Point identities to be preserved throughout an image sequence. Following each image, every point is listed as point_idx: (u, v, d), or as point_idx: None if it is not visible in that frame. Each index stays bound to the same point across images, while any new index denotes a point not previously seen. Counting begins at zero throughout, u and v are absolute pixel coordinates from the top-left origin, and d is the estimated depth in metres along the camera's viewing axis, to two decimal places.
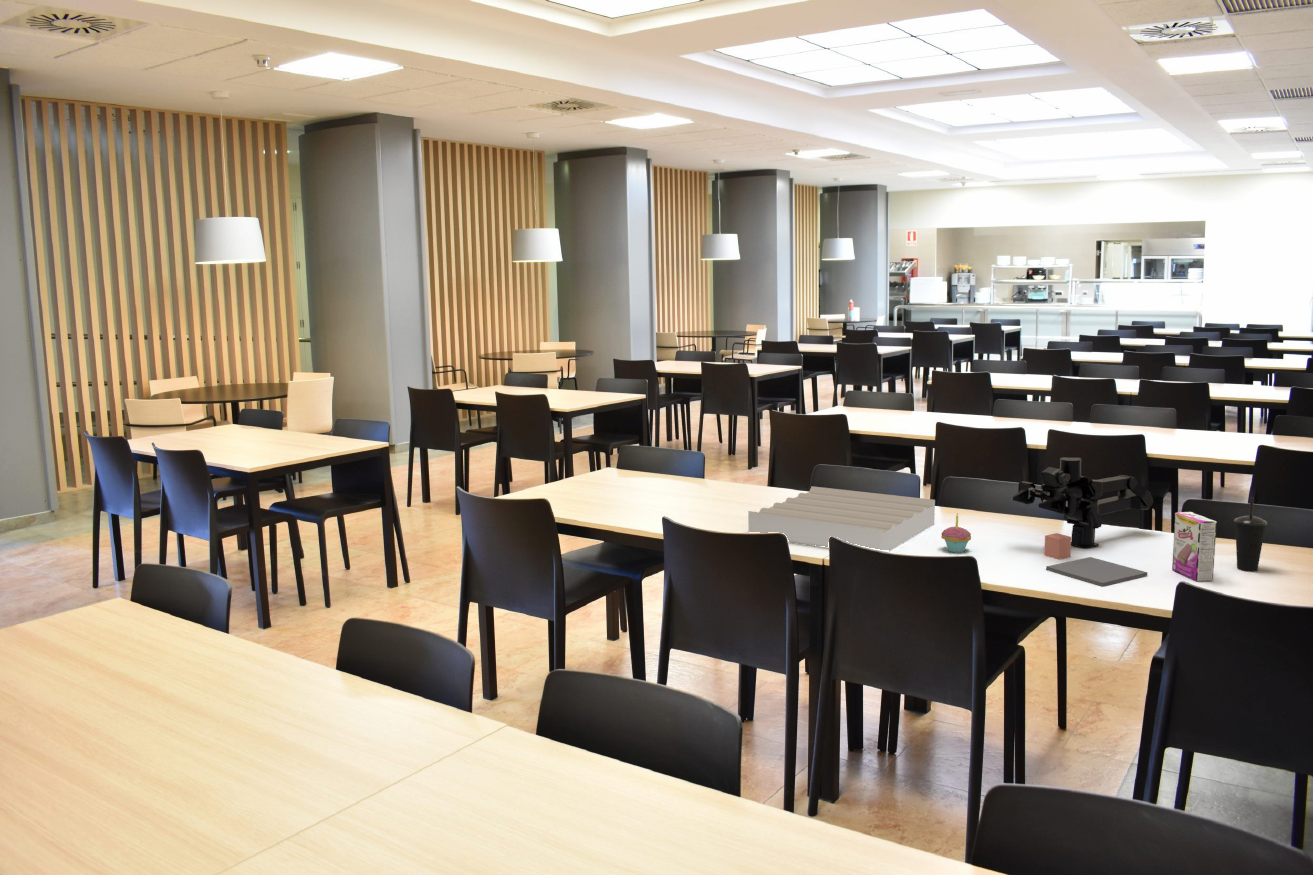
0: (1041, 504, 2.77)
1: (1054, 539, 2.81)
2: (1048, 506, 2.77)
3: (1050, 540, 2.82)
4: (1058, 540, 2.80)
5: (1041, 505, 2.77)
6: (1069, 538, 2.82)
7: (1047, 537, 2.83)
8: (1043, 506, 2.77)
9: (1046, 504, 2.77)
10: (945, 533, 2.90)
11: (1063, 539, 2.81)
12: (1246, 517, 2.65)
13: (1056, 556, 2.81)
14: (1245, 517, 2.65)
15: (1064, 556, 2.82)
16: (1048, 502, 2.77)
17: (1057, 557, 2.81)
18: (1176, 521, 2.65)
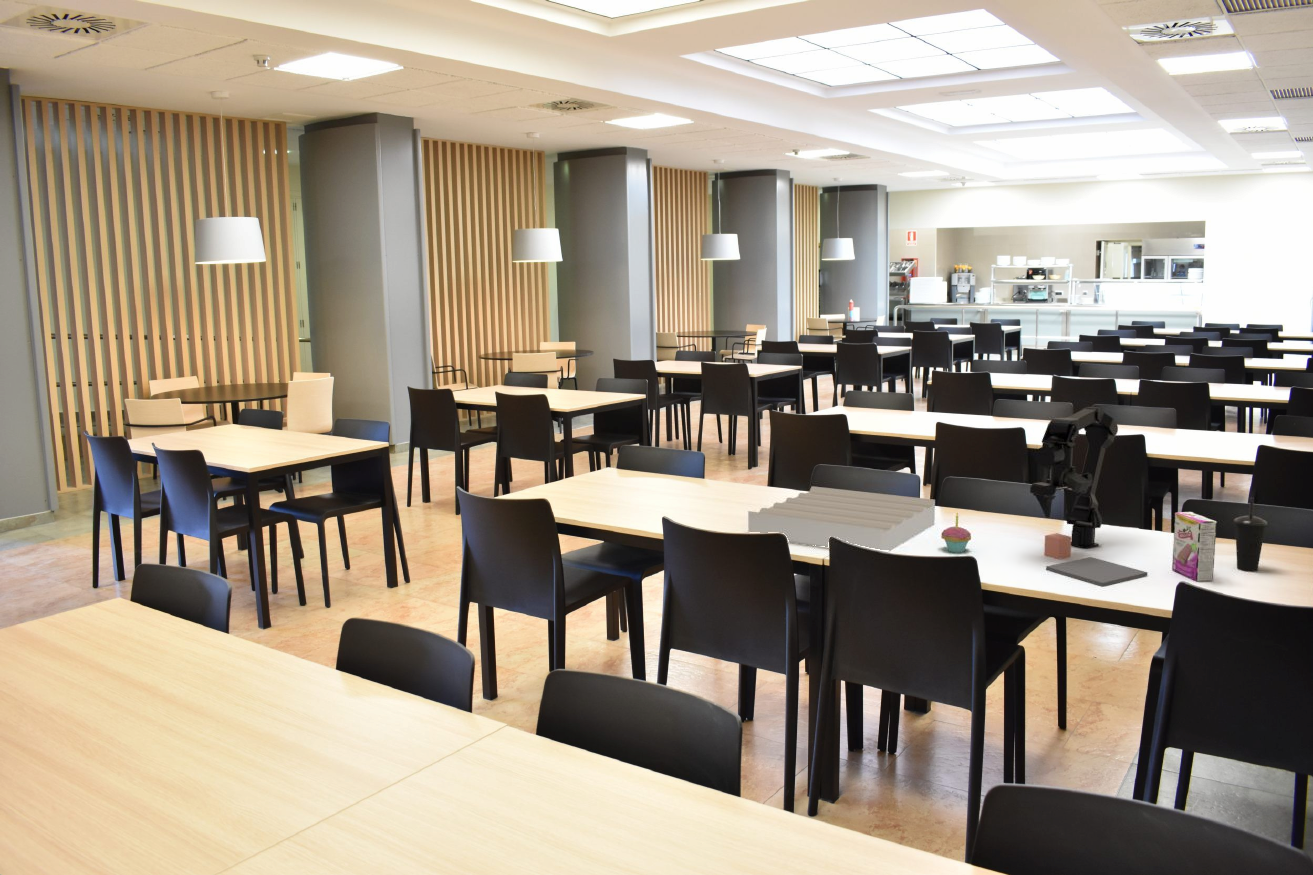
0: None
1: (1054, 539, 2.81)
2: None
3: (1050, 540, 2.82)
4: (1058, 540, 2.80)
5: None
6: (1069, 538, 2.82)
7: (1047, 537, 2.83)
8: None
9: None
10: (945, 533, 2.90)
11: (1063, 539, 2.81)
12: (1246, 517, 2.65)
13: (1056, 556, 2.81)
14: (1245, 517, 2.65)
15: (1064, 556, 2.82)
16: None
17: (1057, 557, 2.81)
18: (1176, 521, 2.65)
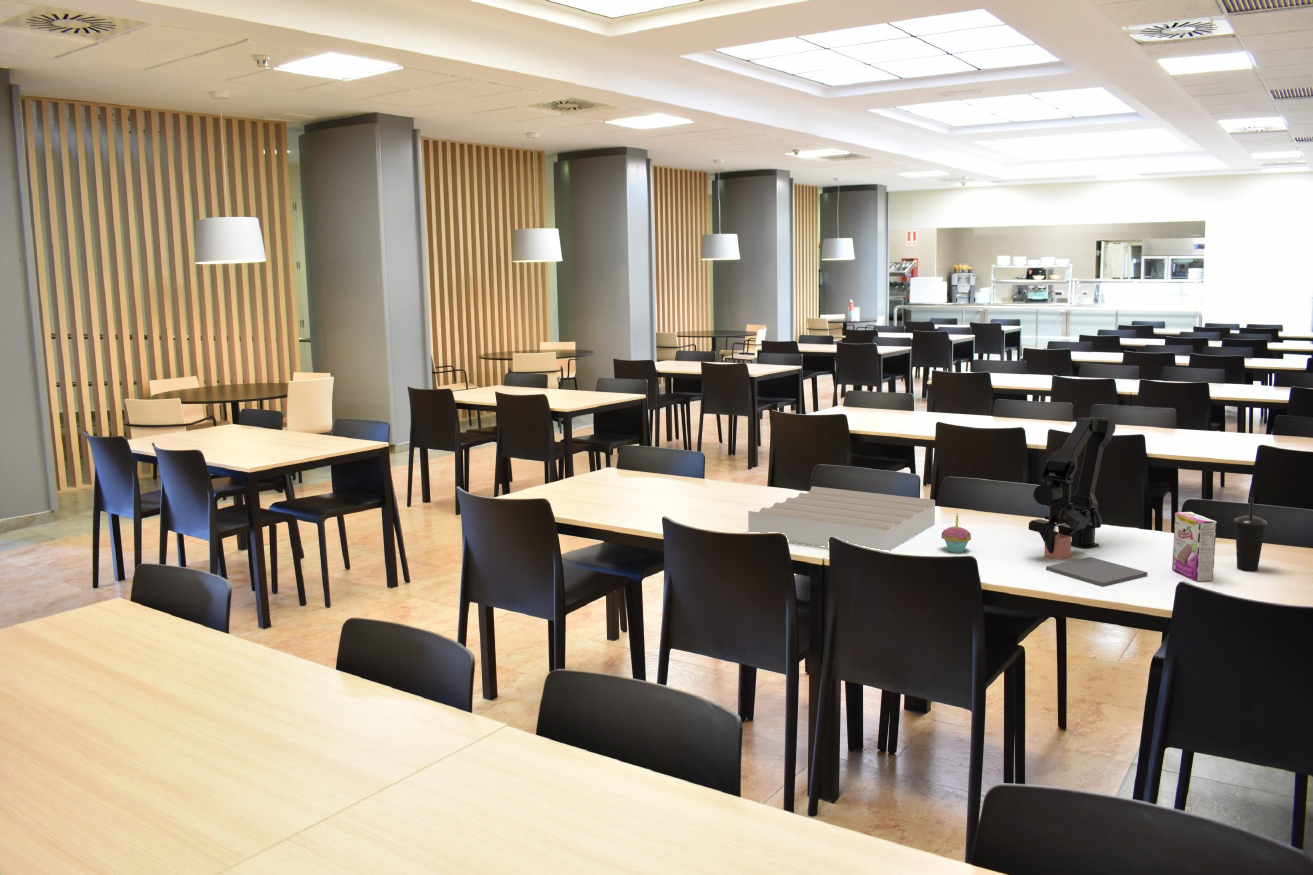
0: None
1: None
2: None
3: None
4: (1058, 540, 2.80)
5: None
6: (1069, 538, 2.82)
7: None
8: None
9: None
10: (945, 533, 2.90)
11: (1063, 539, 2.81)
12: (1246, 517, 2.65)
13: (1056, 556, 2.81)
14: (1245, 517, 2.65)
15: (1064, 556, 2.82)
16: None
17: (1057, 557, 2.81)
18: (1176, 521, 2.65)
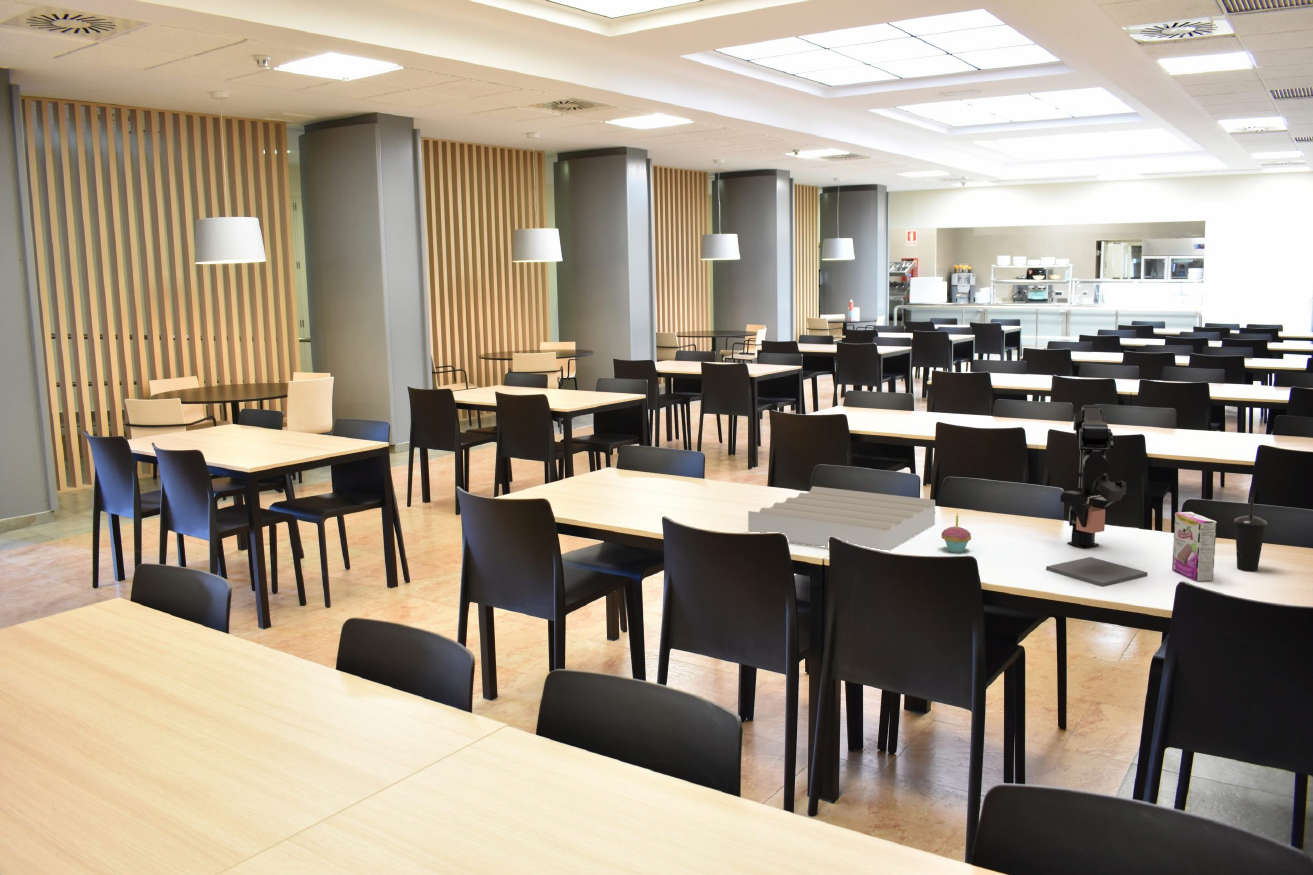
0: None
1: None
2: None
3: None
4: (1091, 512, 2.64)
5: None
6: (1103, 511, 2.66)
7: None
8: None
9: None
10: (945, 533, 2.90)
11: (1097, 512, 2.64)
12: (1246, 517, 2.65)
13: (1089, 530, 2.65)
14: (1245, 517, 2.65)
15: (1098, 530, 2.65)
16: None
17: (1090, 531, 2.65)
18: (1176, 521, 2.65)
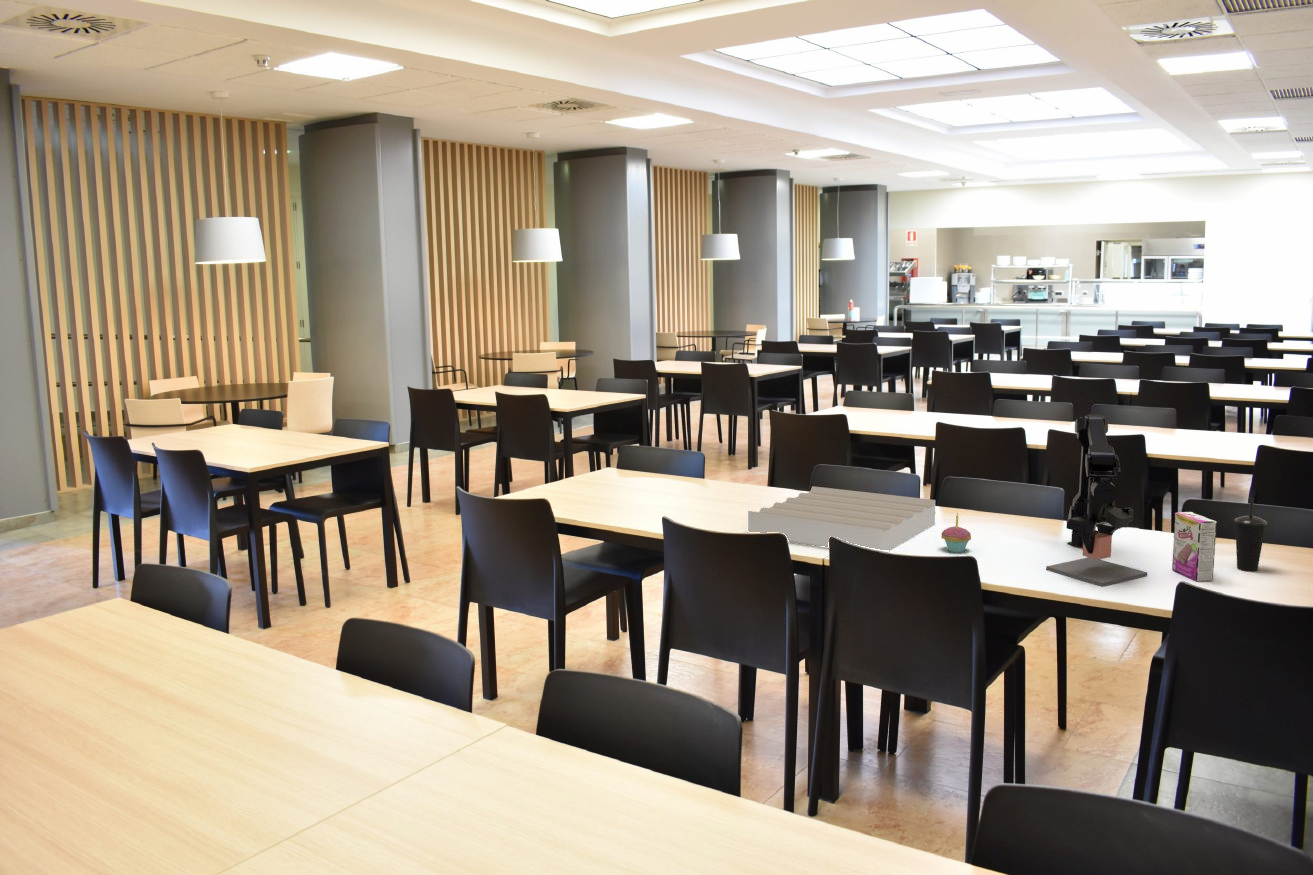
0: None
1: None
2: None
3: None
4: (1098, 539, 2.62)
5: None
6: (1110, 537, 2.64)
7: None
8: None
9: None
10: (945, 533, 2.90)
11: (1103, 538, 2.63)
12: (1246, 517, 2.65)
13: (1096, 556, 2.63)
14: (1245, 517, 2.65)
15: (1104, 556, 2.64)
16: None
17: (1097, 557, 2.63)
18: (1176, 521, 2.65)
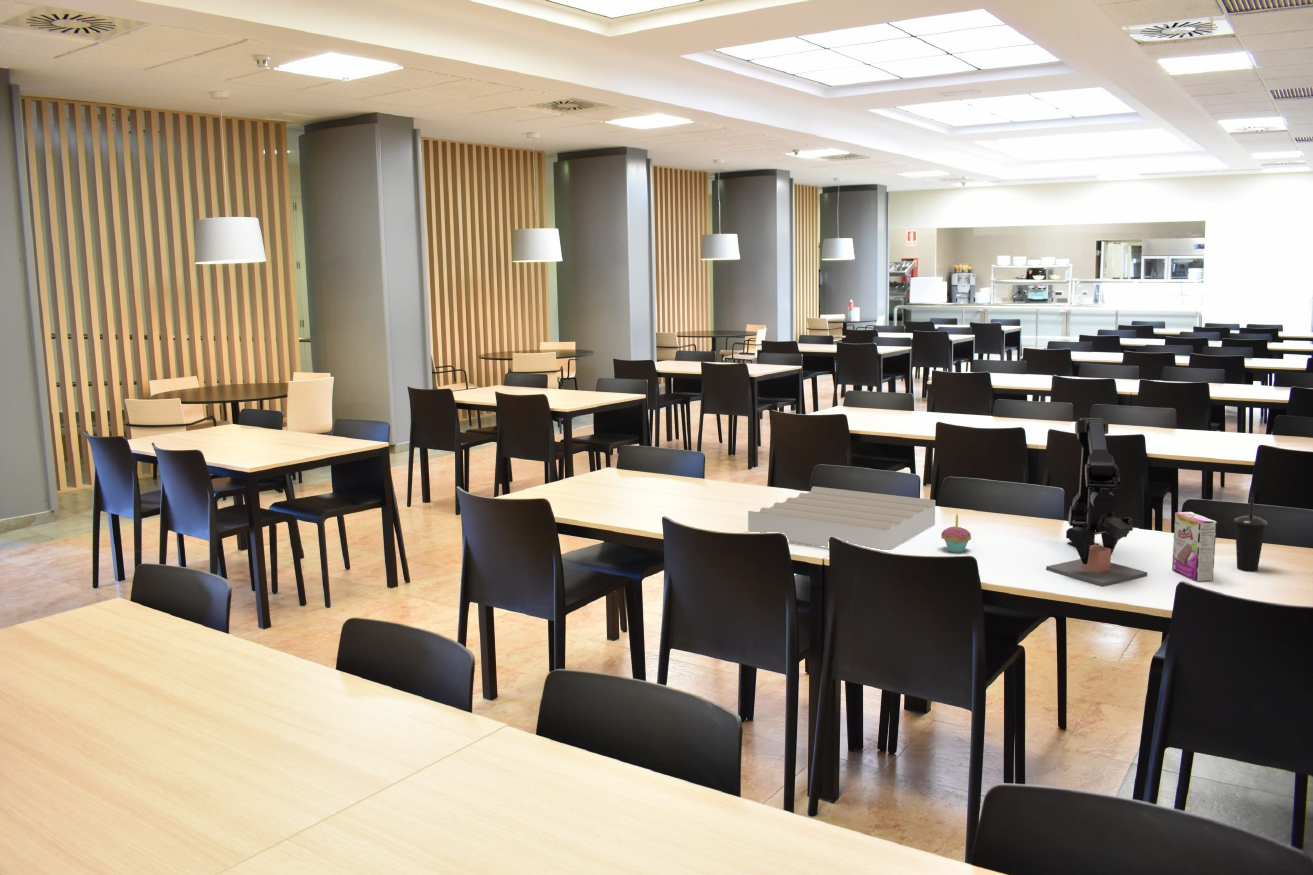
0: None
1: (1093, 551, 2.64)
2: None
3: (1089, 552, 2.65)
4: (1097, 552, 2.63)
5: None
6: (1109, 550, 2.64)
7: None
8: None
9: None
10: (945, 533, 2.90)
11: (1103, 551, 2.63)
12: (1246, 517, 2.65)
13: (1095, 569, 2.64)
14: (1245, 517, 2.65)
15: (1104, 569, 2.64)
16: None
17: (1096, 570, 2.64)
18: (1176, 521, 2.65)
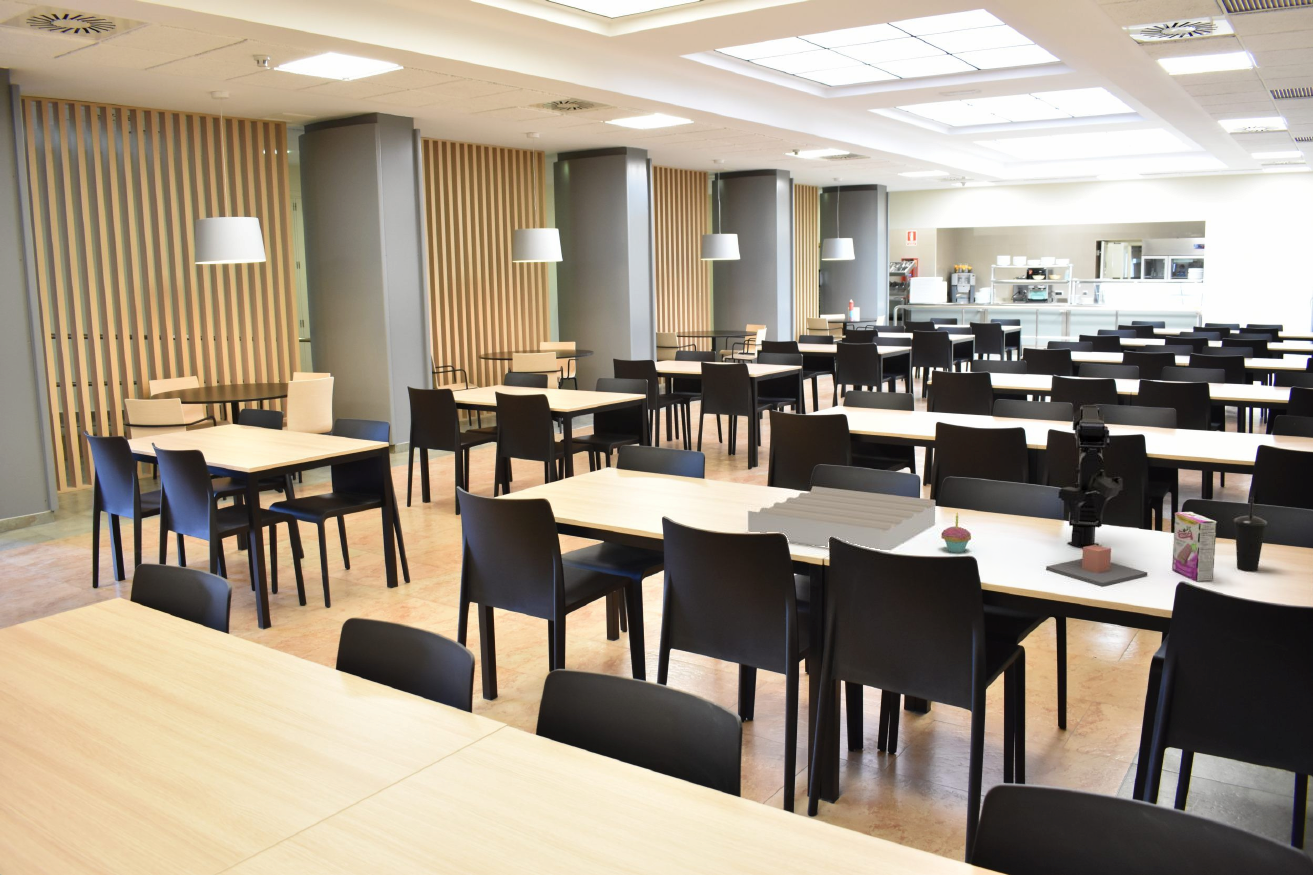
0: None
1: (1093, 551, 2.64)
2: None
3: (1089, 552, 2.65)
4: (1097, 552, 2.63)
5: None
6: (1109, 550, 2.64)
7: (1085, 549, 2.66)
8: None
9: None
10: (945, 533, 2.90)
11: (1103, 551, 2.63)
12: (1246, 517, 2.65)
13: (1095, 569, 2.64)
14: (1245, 517, 2.65)
15: (1104, 569, 2.64)
16: None
17: (1096, 570, 2.64)
18: (1176, 521, 2.65)
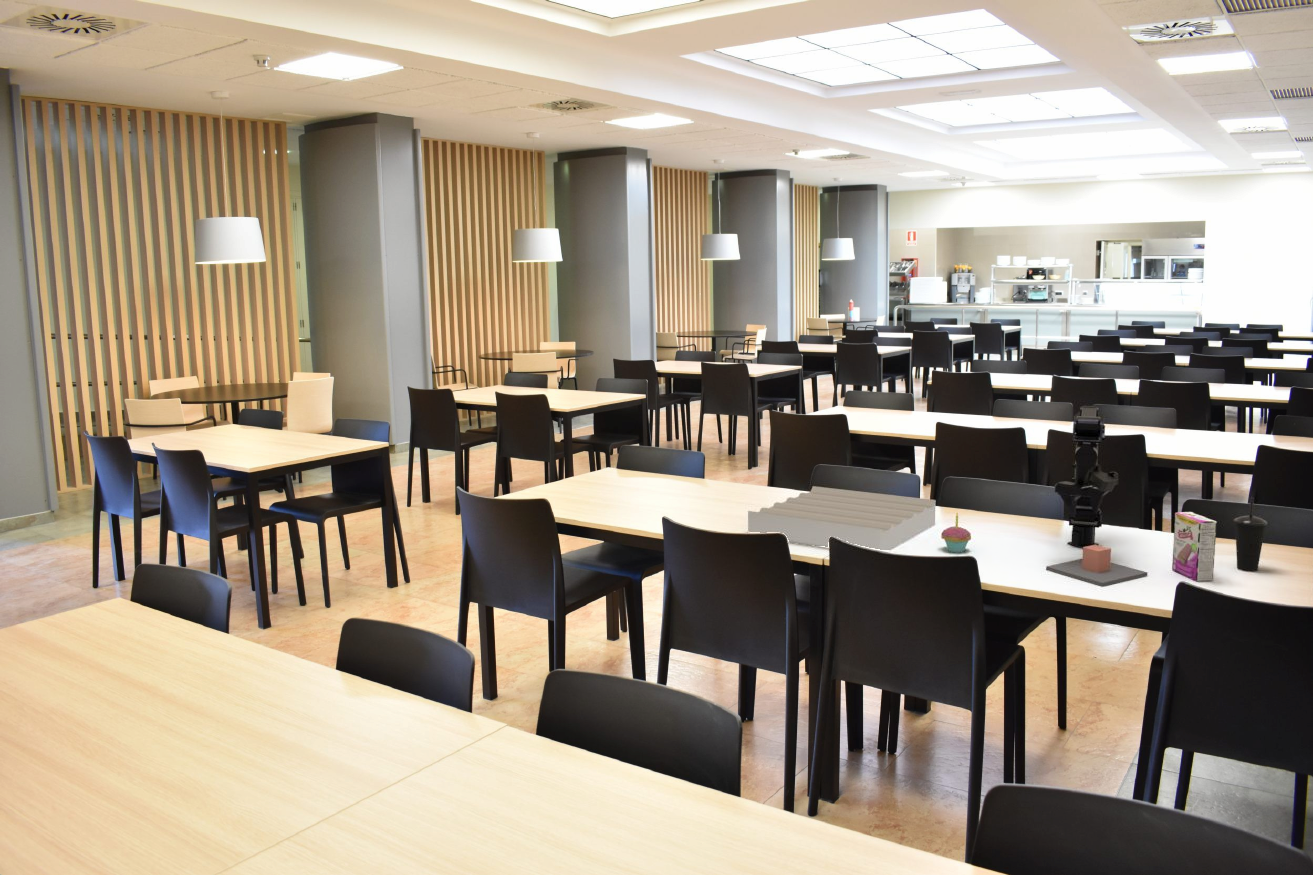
0: None
1: (1093, 551, 2.64)
2: None
3: (1089, 552, 2.65)
4: (1097, 552, 2.63)
5: None
6: (1109, 550, 2.64)
7: (1085, 549, 2.66)
8: None
9: None
10: (945, 533, 2.90)
11: (1103, 551, 2.63)
12: (1246, 517, 2.65)
13: (1095, 569, 2.64)
14: (1245, 517, 2.65)
15: (1104, 569, 2.64)
16: None
17: (1096, 570, 2.64)
18: (1176, 521, 2.65)
